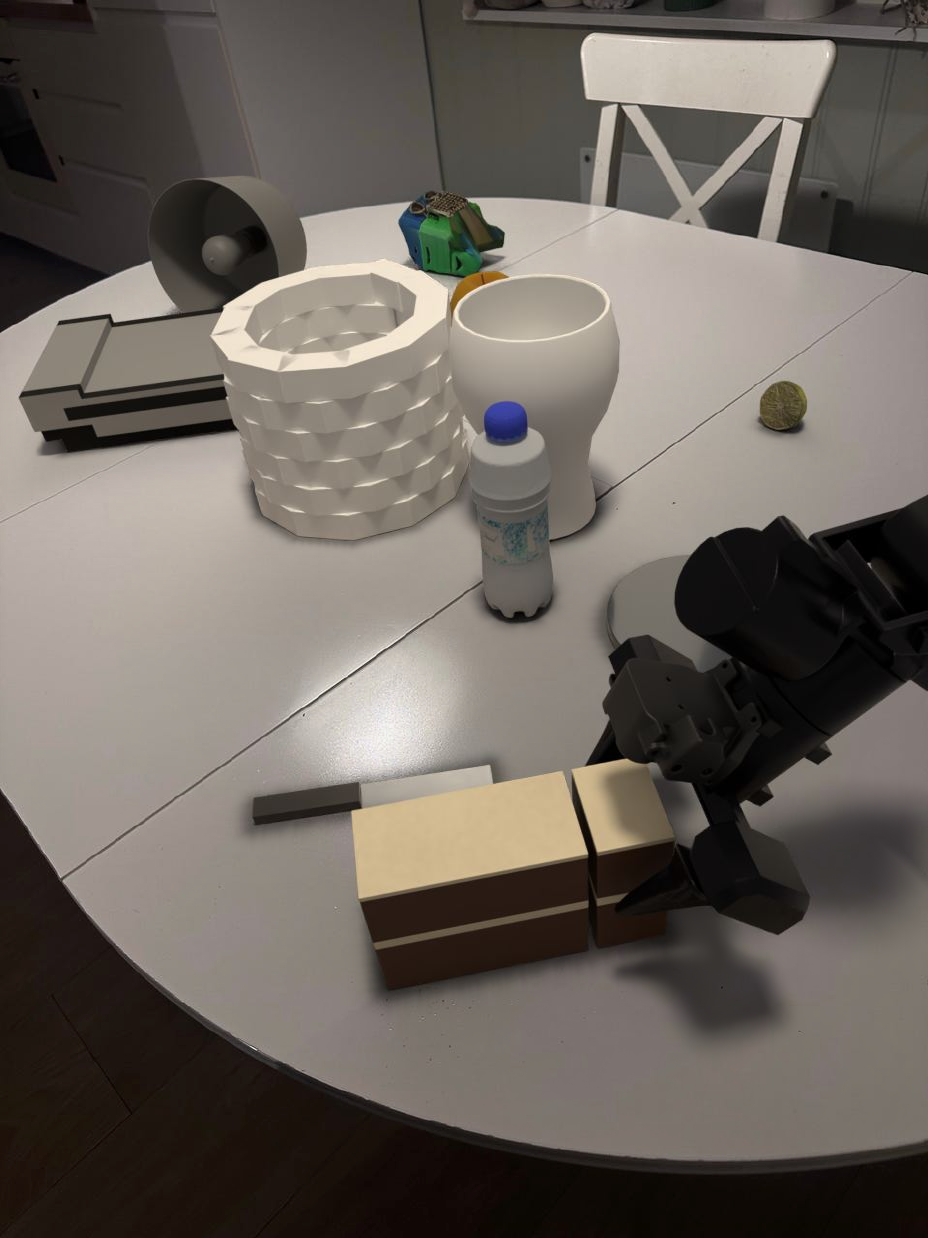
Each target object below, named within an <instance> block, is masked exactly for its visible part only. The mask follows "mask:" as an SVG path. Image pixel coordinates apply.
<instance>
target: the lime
mask: <svg viewBox="0 0 928 1238" xmlns="http://www.w3.org/2000/svg"><path fill="white" fill-rule="evenodd" d="M807 410H808V399H807V396H806V393H805V391H804V389H803V388H802V386H801V385H798V384H797V383H796V382H794V381H793V382H792V381H790V380H781V381H777V382H775V383H772V384H771V385H769V386H768V387H767V388H766V390H765V391H764V393H762V395H761V396H760V399H759V414H760V417H761V420H762V421H763V423H764V424H765V426H767V427H768V428H770V429H773V430H776V431H780V430H781V431H782V430H787V429H792V428H794V427H796V426H797V425H798V424H799V423H800V422H801V420H802V419H803V418H804V416H805V414H806V413H807V412H808V411H807Z"/></svg>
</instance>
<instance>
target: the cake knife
mask: <svg viewBox="0 0 928 1238" xmlns="http://www.w3.org/2000/svg"><path fill="white" fill-rule="evenodd" d="M491 766H492V765H491V764H485V765H478V766H473V767H466V768H465V767H464V768H459V769H452V770H446V771H439V772H432V773H426V774H419V775H413V776H405V777H399V778H393V779H386V780H378V781H372V782H366V783H360V782H359V781H354V782H348V783H342V784H334V785H328V786H321V787H316V788H315V787H314V788H309V789H302V790H296V791H295V790H294V791H289V792H282V793H275V794H274V793H273V794H267V795H262V796H255V797H253V799H252V815H251V818H252V820H253V822H254V824H255V825H262V824H269V823H275V822H282V821H288V820H295V819H302V818H309V817H316V816H322V815H329V814H335V813H343V812H350V811H354V810H359V809H364V808H369V807H375V806H380V805H385V804H391V803H396V802H401V801H406V800H412V799H417V798H422V797H427V796H433V795H438V794H443V793H448V792H454V791H459V790H464V789H469V788H475V787H480V786H485V785H491V784H495V783H494V778H493V772H492V767H491Z"/></svg>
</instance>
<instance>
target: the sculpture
mask: <svg viewBox="0 0 928 1238" xmlns="http://www.w3.org/2000/svg"><path fill="white" fill-rule="evenodd" d="M397 224H398V227H399V229H400V231H401V233H402V235H403V237H404V241H405V243H406V246H407V249H408V255H409V256H410V258H411V260H412V261H413V263H414V264H415V265H416V266H418V267H419V269H420V270H422V271H425V272H428V271H434V272H436V273H441V274H449V275H454V276H458V277H463V278H465V277H467V276H469V275H472V274H475V273H479V272H478V271H479V270H480V268H481V266H482V264H483V262H484V261H483V259H482V255H481V253H482V254H483V253H485V252H489V251H493V250H496V249H497V250H498V249H502V248H504V245H505V236H506V232H505V231H503V229H501V228H500V227H498V226H496V225H493V224H490V223H488V221H486V219H485V218H484V216H483V213H482V210H481V207H480V205H478V204H477V203H476V202H472V201H469V200H468V199H467V198H465V196H462V195H459V194H455V193H452V192H449V191H446V190H442V189H440V192H438V191H435V190H427V191H424V192H422V194H421V195H420V196H418V198H416V199H415V200H412V202H411V203H410V204H409V205H408V206H407V208H405V210H404V211H403V212H402V214H401V215H400V217H399V218H398V221H397Z"/></svg>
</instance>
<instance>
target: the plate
mask: <svg viewBox="0 0 928 1238" xmlns="http://www.w3.org/2000/svg"><path fill="white" fill-rule="evenodd" d="M690 555H691V554H684V555H683V554H682V555H675V556H674V555H673V556H669V557H665V558H661V559H657V560H653V561H651V562H649V563H646V564H643V565H641V566H639V567H638V568H636V569H634V570H633V571H632V572H630V573H628V574H627V575H626V576H625V577H624V578H622V580H620V582H619V583H617V585H616V586H615V588H614V589H613V591H612V593H611V594H610V596H609V599H608V602H607V606H606V607H607V608H606V629H607V633H608V637H609V639H610V641H611V644H612V646H613V648H614V650H616V649H617V648H618V647H619V646H620V645H621V644H622V643H623V642H625V641H626V640H627V639H628V638H631V637H637V636H642V635H650V636H652V637H653V638H655V639H657V640H659V641H660V642H662V643H664V644H665V645H667V646H669V647H671V648H672V649H674V650H676V651H677V652H679V653H681V654H683V655H684V656H686V657H688V658H689V659H691V660H692V661H693V663H694V665H695V667H696V669H697V671H698V672H702V673H703V672H706V671H708V670H710V669H712V668H714V667H716V666H717V665H718V664H719V663H720V662H722V661H723V660H725V659H728V660H729V659H731V658H732V656H730V655H728V654H727V653H725V652H723V651H722V650H720V649H719V648H717V647H715V646H714V645H712V644H710V643H709V642H707V641H705V640H704V639H702V638H701V637H699V636H697V635H696V634H694V633H692V632H691V631H689V630H687V629H686V628H685V627H684V625H683V624H682V623H681V622H680V621H679V619H678V617H677V615H676V610H675V605H674V595H675V588H676V584H677V580H678V577H679V575H680V573H681V570H682V568H683V566H684V565H685V563H686V562H687V560H688V558H689V557H690Z"/></svg>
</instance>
